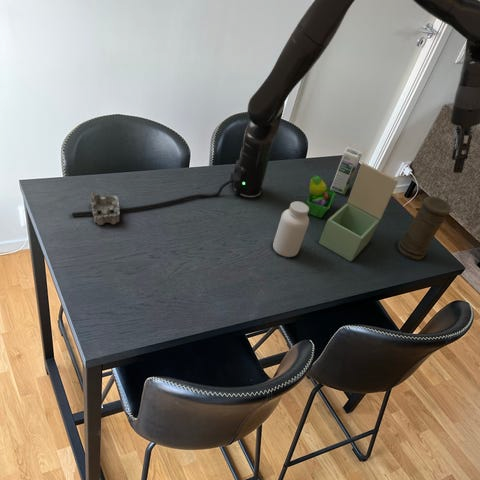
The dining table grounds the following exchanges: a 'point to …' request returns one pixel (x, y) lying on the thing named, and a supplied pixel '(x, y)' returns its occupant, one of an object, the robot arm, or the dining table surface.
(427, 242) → the container
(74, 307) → the dining table surface
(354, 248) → the caddy
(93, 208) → the egg carton
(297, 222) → the pill bottle
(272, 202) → the dining table surface
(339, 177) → the syrup box
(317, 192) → the fruit basket
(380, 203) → the lid
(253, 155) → the robot arm
